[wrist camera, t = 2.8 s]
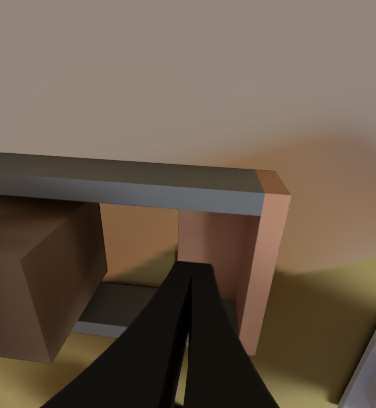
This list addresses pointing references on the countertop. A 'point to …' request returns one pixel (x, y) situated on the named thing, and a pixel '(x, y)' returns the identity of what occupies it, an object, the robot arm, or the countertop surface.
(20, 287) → the walnut block
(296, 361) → the countertop surface
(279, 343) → the countertop surface
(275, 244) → the channel
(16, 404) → the countertop surface
